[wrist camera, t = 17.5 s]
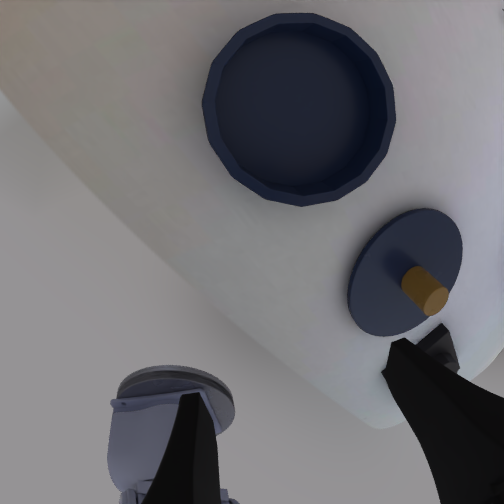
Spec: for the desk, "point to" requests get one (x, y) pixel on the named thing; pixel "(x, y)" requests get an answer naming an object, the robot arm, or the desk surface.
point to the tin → (299, 109)
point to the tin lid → (405, 272)
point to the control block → (440, 348)
